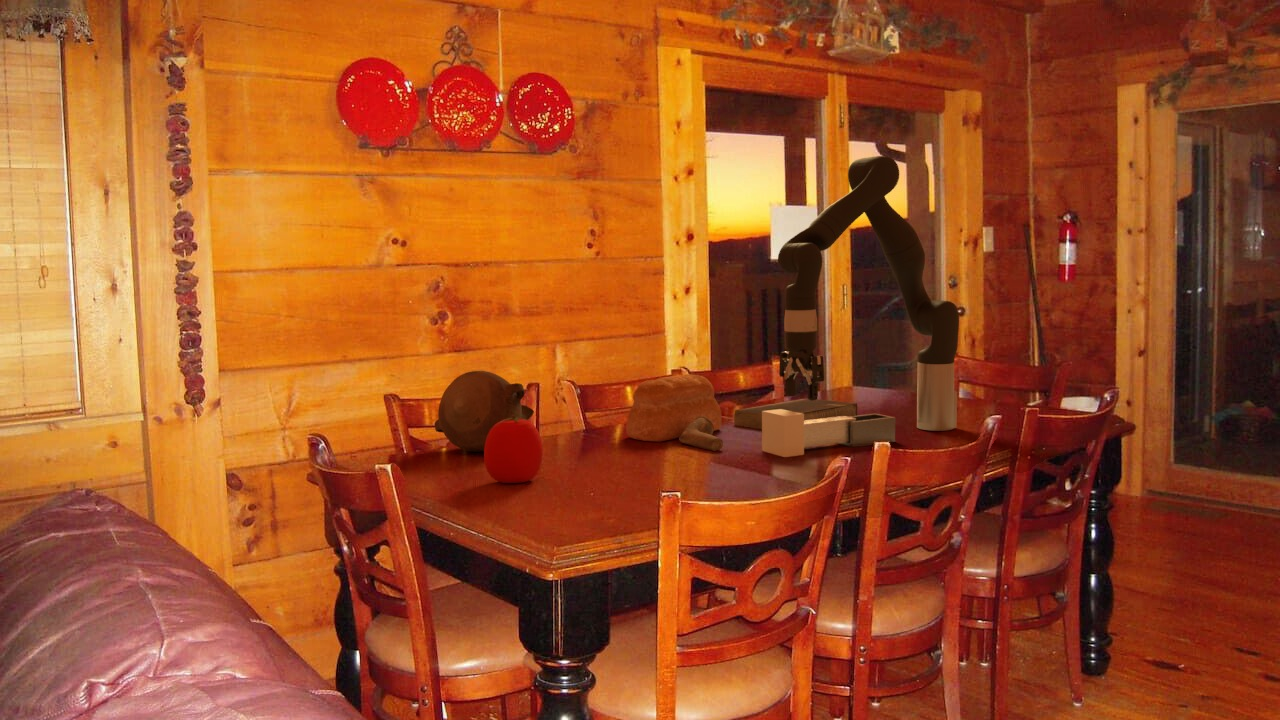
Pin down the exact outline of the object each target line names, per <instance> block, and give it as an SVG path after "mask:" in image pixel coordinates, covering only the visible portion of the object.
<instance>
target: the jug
mask: <svg viewBox="0 0 1280 720" xmlns="http://www.w3.org/2000/svg"><path fill="white" fill-rule="evenodd" d="M524 397H525V388H524V385H523V384H522V383H518V382H515V383H510V382H509V381H508V380H506V379H505V378H503V377H502V376H500V375H498V374H496V373H495V372H494V373H493V372H490V371H485V370H472V371H468V372H464V373H462V374H460V375H458V376H457V377H455V378H454V380H452V382H450V384H449V385H448V386H447V387H446V389H445V390H444V392H443V393H442V396H441V399H440V401H439V406H438V411H437V412H438V413H437V415H438V416H437V417H438V419H437V420H436V421H434V424H433V425H434V430H435V432H437V433H443V434H444V436H445V437H446V439H447V440H448V441H449V442H450V443H451V444H452V445H453V446H455V447H457V448H459V449H461V450H463V451H467V452H471V453H472V452H473V453H484V448H485V442H486V438H487V435H488V433H489V432H490V430H491V429H492V427H493V426H494V425H495V424H497V423H498V422H500V421H502V420H503V419H504V420H505V419H506V418H513V415H515V417H519V418H524V419H525V420H527V421H529V419H531V418H532V417H533V416H534V415H533V414H534V410H533V408H531V407H529V406H527V405H524V404H522V402H521V401H522V400H523V398H524Z"/></svg>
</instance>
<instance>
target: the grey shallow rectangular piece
mask: <svg viewBox="0 0 1280 720" xmlns="http://www.w3.org/2000/svg"><path fill="white" fill-rule="evenodd" d="M777 409H783V410H788V411H793V412H797V413H802V414H804V420H812V419H821V418H830V417H839V416H847V417H850V416H858V403H855V402H848V401H847V402H846V401H837V400H836V401H835V400H827V399H826V400H825V399H817V400H808V398H807V397H806V398H799V399H793V400H787V401H782V402H781V401H780V402H776V403H770V404H761V405H758V406H756V405H755V406H751V407H744V408H738V409H735V410H734V414H733V416H734V417H733V420H734V426H738V427H743V426H744V428H749V427H750V428H749V429H755V430H756V429H758V430H762V411H767V410H777Z"/></svg>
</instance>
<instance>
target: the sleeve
mask: <svg viewBox="0 0 1280 720" xmlns="http://www.w3.org/2000/svg"><path fill="white" fill-rule="evenodd" d="M850 417H852V418H856V421H853V422H850V442H844V443H837V444H839V445H842V446H847V447H850V448H858V447H865V446H871V445H872V444H873V442H874V441H879V440H886V441H890V442H889V443H895V442H896V416H890V415H885V414H880V413H869V414H867V413H866V414H859V415H858V414H857V416H850ZM872 446H873V445H872Z"/></svg>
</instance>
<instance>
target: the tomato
mask: <svg viewBox="0 0 1280 720" xmlns="http://www.w3.org/2000/svg"><path fill="white" fill-rule="evenodd" d="M529 420H532V419H531V418H530V419H529ZM529 420H528V421H527V420H525V419H524V418H519V417H515V415H513V418H506V419H505V420H504V419H503V420H502V421H500V422H498V423H497V424H495V425H494V426H493V427H492V429H491V430H490V432H489V433H488V435H487V438H486V442H485V448H484V452H483V459H484V465H485V468H486V470H487V473H488V474H489V475H490V477H491V479H493V480H495V481H496V482H500V483H503V484H521V483H527V482H529V481H531V480H533V479H534V478H535V476H536V475H537V474H538V473H539V471H540V469H541V468H540V467H541V466H542V465H541V464H542V460H543V454H544V446H543V439H542V438H541V435H540V432H539V430H538V429H537V427H536V425H535V424H533V423H532V422H531V421H529Z"/></svg>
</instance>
